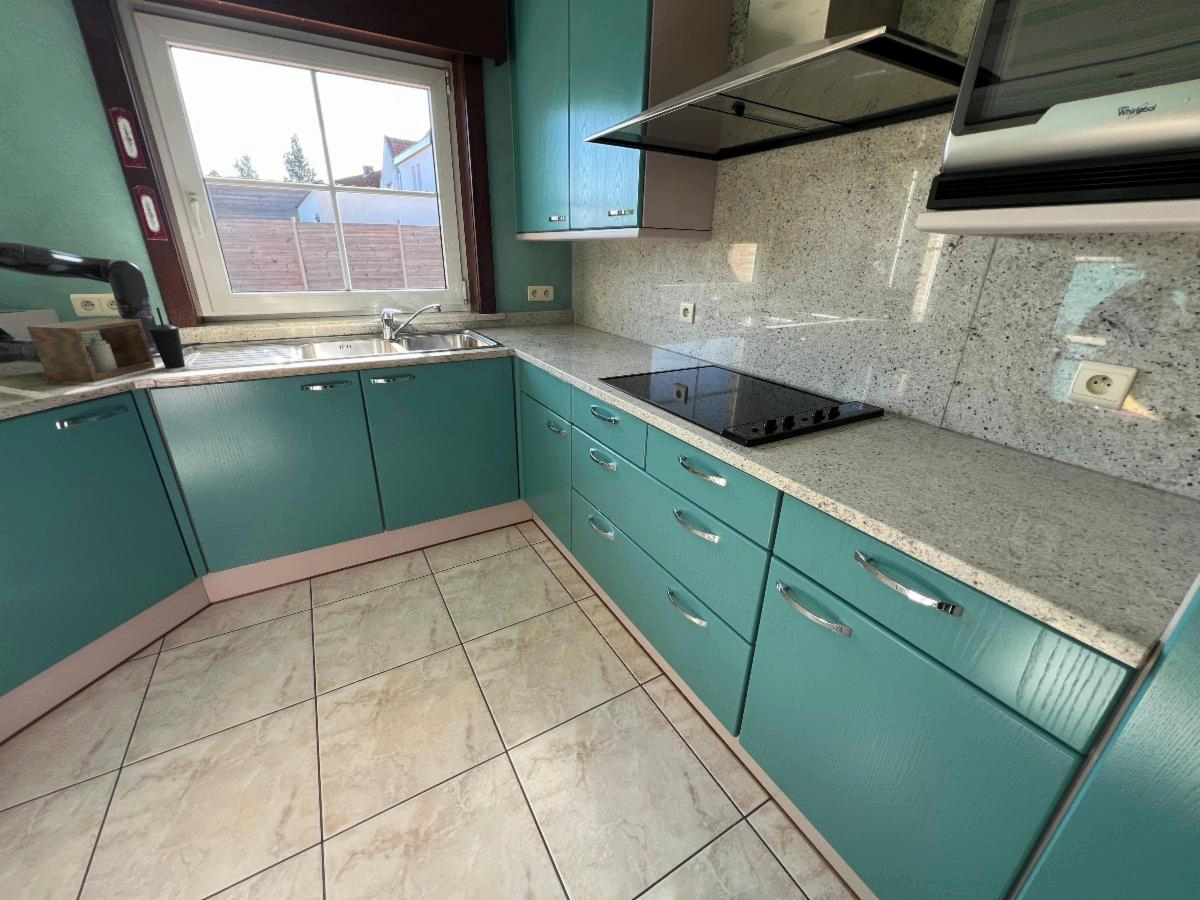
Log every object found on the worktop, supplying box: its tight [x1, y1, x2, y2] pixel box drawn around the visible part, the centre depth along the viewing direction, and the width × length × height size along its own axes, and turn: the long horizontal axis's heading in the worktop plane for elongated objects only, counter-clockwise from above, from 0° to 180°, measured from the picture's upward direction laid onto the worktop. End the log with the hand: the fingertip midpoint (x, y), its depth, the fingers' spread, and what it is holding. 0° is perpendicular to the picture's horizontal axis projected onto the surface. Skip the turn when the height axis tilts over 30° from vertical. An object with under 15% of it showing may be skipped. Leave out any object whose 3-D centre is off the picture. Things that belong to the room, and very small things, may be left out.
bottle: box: [85, 336, 118, 373], centre depth 149 cm, size 5×5×11 cm
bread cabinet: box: [26, 317, 156, 383], centre depth 149 cm, size 14×20×16 cm
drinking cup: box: [148, 307, 186, 370], centre depth 158 cm, size 8×8×20 cm
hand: (99, 353), depth 149 cm, fingers open, 8 cm apart
